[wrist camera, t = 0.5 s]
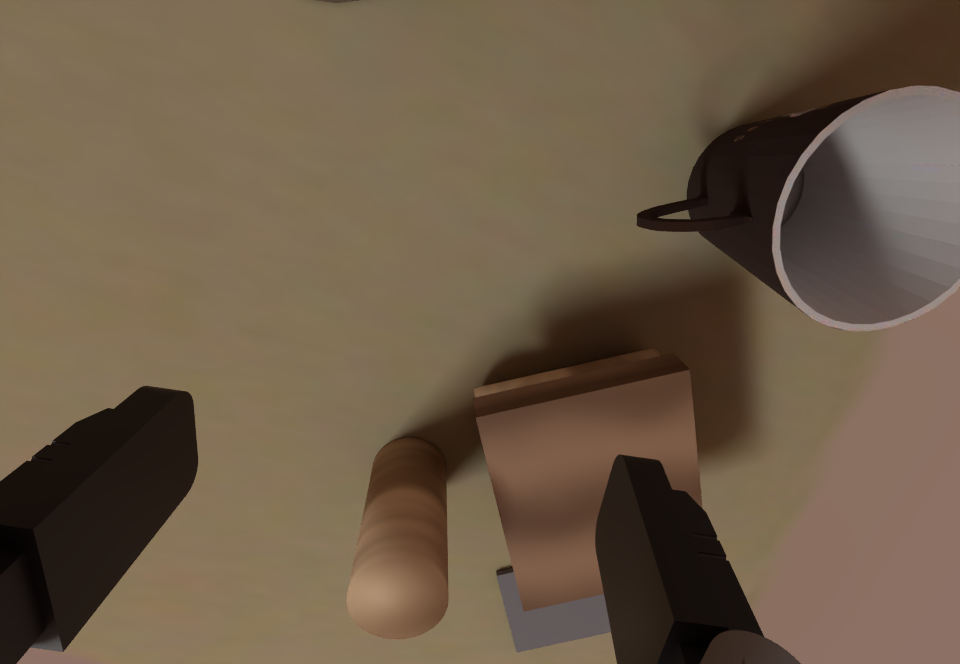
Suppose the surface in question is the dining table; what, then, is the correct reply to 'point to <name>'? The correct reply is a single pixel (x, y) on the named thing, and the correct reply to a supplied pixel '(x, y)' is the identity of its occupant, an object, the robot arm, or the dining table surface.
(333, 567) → the dining table surface
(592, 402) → the slab
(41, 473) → the robot arm
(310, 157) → the dining table surface
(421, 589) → the roller
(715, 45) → the dining table surface
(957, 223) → the coffee mug
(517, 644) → the mat
